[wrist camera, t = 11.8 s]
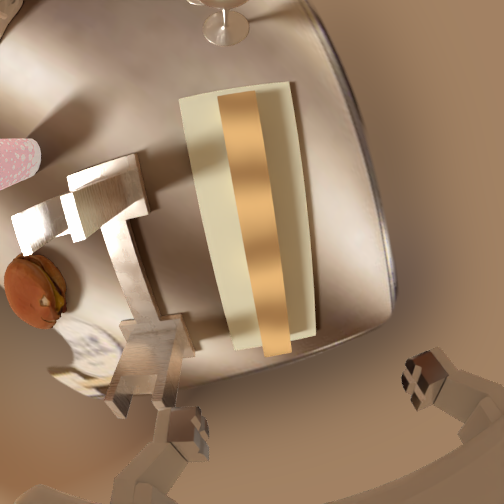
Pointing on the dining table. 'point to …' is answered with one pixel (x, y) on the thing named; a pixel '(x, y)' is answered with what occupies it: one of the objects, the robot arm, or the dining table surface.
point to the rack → (128, 272)
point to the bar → (256, 216)
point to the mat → (226, 215)
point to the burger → (35, 290)
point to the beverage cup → (18, 160)
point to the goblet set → (224, 22)
